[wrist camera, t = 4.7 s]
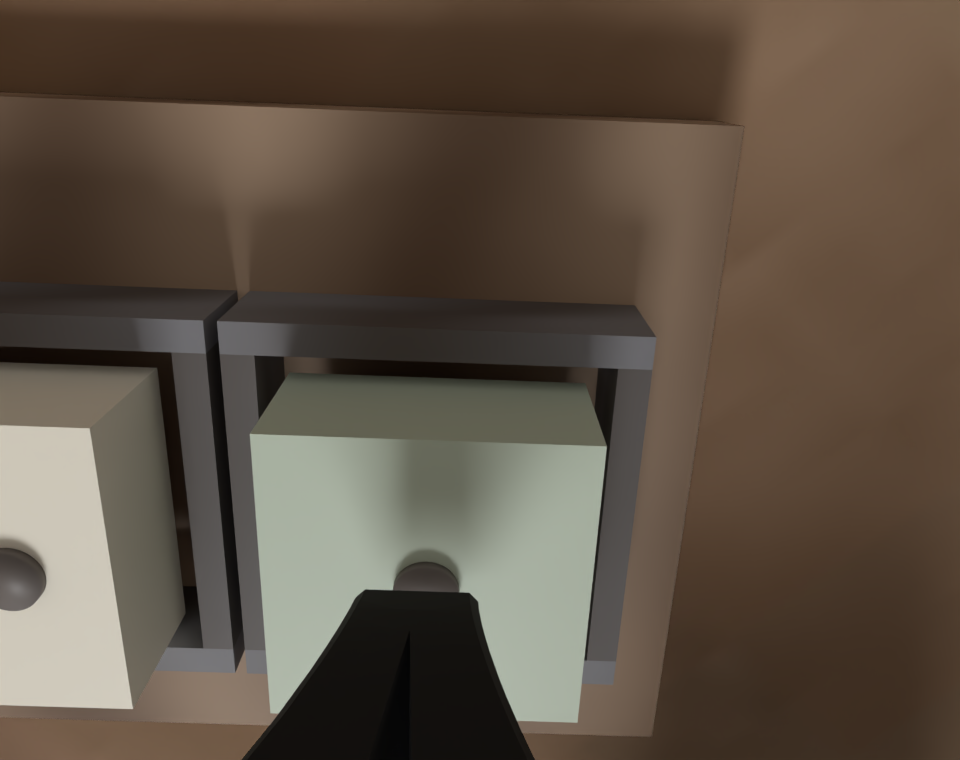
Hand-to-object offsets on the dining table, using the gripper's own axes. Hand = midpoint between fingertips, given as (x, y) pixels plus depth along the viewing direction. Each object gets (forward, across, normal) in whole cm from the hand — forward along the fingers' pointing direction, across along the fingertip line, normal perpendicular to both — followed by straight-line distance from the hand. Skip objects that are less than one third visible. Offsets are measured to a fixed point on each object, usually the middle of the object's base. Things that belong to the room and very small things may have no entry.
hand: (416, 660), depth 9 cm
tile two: (+4, +7, 0) cm, 7 cm away
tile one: (+4, 0, 0) cm, 4 cm away
